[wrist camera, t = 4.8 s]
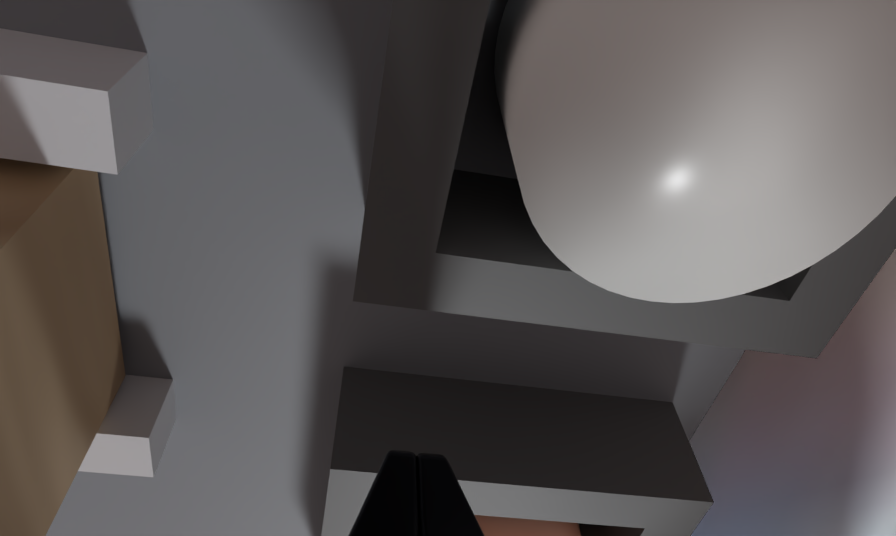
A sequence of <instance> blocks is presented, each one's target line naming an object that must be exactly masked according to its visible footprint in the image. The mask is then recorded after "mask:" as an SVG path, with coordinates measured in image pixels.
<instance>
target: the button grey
mask: <svg viewBox="0 0 896 536" xmlns="http://www.w3.org/2000/svg"><path fill="white" fill-rule="evenodd" d="M494 75H495V85H496V94H497V98H498V102H499V106H500V110H501V114H502V118H503V122H504V126H505V130H506V134H507V138H508V142H509V146H510V150H511V154H512V158H513V162H514V166H515V170H516V174H517V178H518V182H519V186H520V190H521V194H522V198H523V202H524V204H525V207H526V209H527V212H528V214H529V217H530V219H531V221H532V224H533V225H534V227H535V229H536V230H537V232H538V234H539V235H540V237H541V238H542V240H543V242H544V243H545V244H546V245H547V246H548V248H549V249H550V250H551V251H552V252H553V253H554V255H555V256H556V257H557V258H558V259H559V260H560V261H562V262H563V263H564V264H565V265H566V266H567V267H568V268H570V269H571V270H572V271H573V272H575V273H576V274H578V275H580V276H581V277H583V278H584V279H586V280H587V281H589V282H591V283H593V284H595V285H597V286H599V287H601V288H604V289H606V290H608V291H611V292H614V293H617V294H620V295H623V296H626V297H630V298H635V299H640V300H646V301H652V302H665V303H694V302H703V301H711V300H719V299H724V298H728V297H732V296H737V295H741V294H745V293H748V292H751V291H754V290H757V289H761V288H764V287H767V286H769V285H772V284H774V283H776V282H779V281H781V280H784V279H786V278H788V277H791V276H793V275H795V274H796V273H798V272H800V271H802V270H804V269H806V268H808V267H810V266H812V265H814V264H815V263H817V262H818V261H820V260H821V259H823V258H825V257H826V256H828V255H829V254H831V253H832V252H834V251H836V250H837V249H838V248H840V247H841V246H842V245H844V244H845V243H846V242H848V241H849V240H850V239H851V238H853V237H854V236H855V235H857V234H858V233H859V232H860V231H861V230H862V229H864V228H865V227H866V226H867V225H868V224H869V223H870V222H871V221H872V220H873V219H874V218H876V217H877V216H878V215H879V214H880V213H881V212H882V211H883V209H884V208H885V207H886V206H887V205H888V204H889V203H890V202H891V201H892V200H893V198H894V197H895V196H896V0H508V2H507V4H506V6H505V10H504V13H503V16H502V20H501V23H500V26H499V30H498V36H497V42H496V48H495V66H494Z"/></svg>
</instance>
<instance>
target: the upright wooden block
mask: <svg viewBox="0 0 896 536" xmlns="http://www.w3.org/2000/svg"><path fill="white" fill-rule="evenodd" d="M125 376H126V375H125V368H124V361H123V354H122V346H121V339H120V332H119V325H118V317H117V310H116V303H115V296H114V289H113V281H112V274H111V267H110V260H109V252H108V245H107V238H106V231H105V224H104V216H103V209H102V202H101V195H100V187H99V180H98V173H97V172H96V171H89V170H82V169H75V168H68V167H61V166H54V165H47V164H40V163H33V162H26V161H19V160H12V159H5V158H0V536H46V534H47V532H48V530H49V528H50V526H51V524H52V522H53V520H54V518H55V516H56V514H57V512H58V510H59V508H60V506H61V504H62V502H63V500H64V498H65V496H66V494H67V492H68V490H69V488H70V486H71V484H72V482H73V480H74V478H75V476H76V474H77V472H78V470H79V468H80V466H81V464H82V462H83V460H84V458H85V456H86V454H87V452H88V450H89V448H90V446H91V444H92V442H93V440H94V438H95V436H96V434H97V432H98V430H99V428H100V426H101V424H102V422H103V420H104V418H105V416H106V414H107V412H108V410H109V408H110V406H111V404H112V402H113V400H114V398H115V396H116V394H117V392H118V390H119V388H120V386H121V384H122V382H123V380H124V378H125Z"/></svg>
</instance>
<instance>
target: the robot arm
mask: <svg viewBox="0 0 896 536" xmlns="http://www.w3.org/2000/svg"><path fill="white" fill-rule="evenodd" d="M349 536H484V534H483V532H482V530H481V528H480V525H479V523H478V521H477V519H476V517H475V515H474V513H473V511H472V509H471V507H470V505H469V503H468V501H467V499H466V497H465V495H464V493H463V491H462V489H461V486H460V484H459V482H458V480H457V478H456V476H455V474H454V472H453V470H452V468H451V466H450V464H449V462H448V460H447V459H446V457H445V456H443V455H441V454H432V453H419V454H417V456H416V455H415V453H413V452H410V451H399V450H390V451H388V452H387V454H386V456H385V458H384V460H383V462H382V464H381V466H380V469H379V471H378V473H377V475H376V477H375V479H374V482H373V484H372V486H371V488H370V490H369V492H368V495H367V497H366V499H365V501H364V503H363V505H362V508H361V510H360V512H359V514H358V516H357V518H356V521H355V523H354V525H353V527H352V529H351V531H350V533H349Z"/></svg>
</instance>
